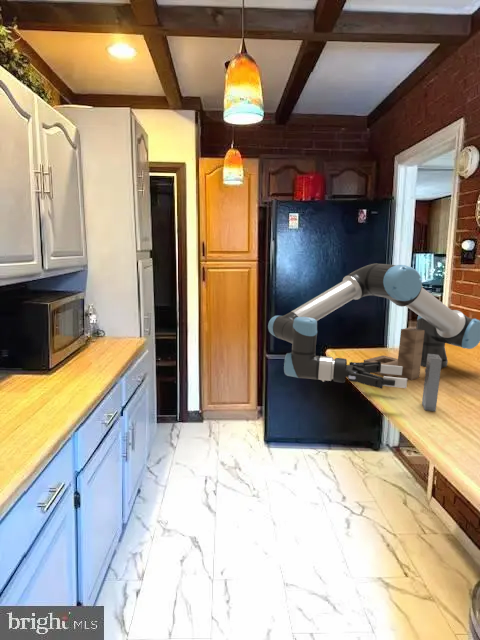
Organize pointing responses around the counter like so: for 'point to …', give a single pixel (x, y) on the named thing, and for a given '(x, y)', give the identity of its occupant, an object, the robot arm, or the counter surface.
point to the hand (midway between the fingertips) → (404, 376)
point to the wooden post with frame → (405, 354)
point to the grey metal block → (431, 382)
